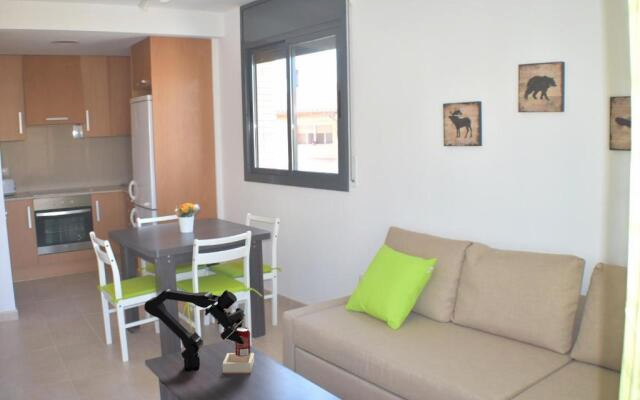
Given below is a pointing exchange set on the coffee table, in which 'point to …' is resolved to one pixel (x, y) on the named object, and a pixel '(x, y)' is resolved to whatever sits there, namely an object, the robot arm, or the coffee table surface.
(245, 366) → the open box
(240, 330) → the soda can
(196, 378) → the coffee table surface
